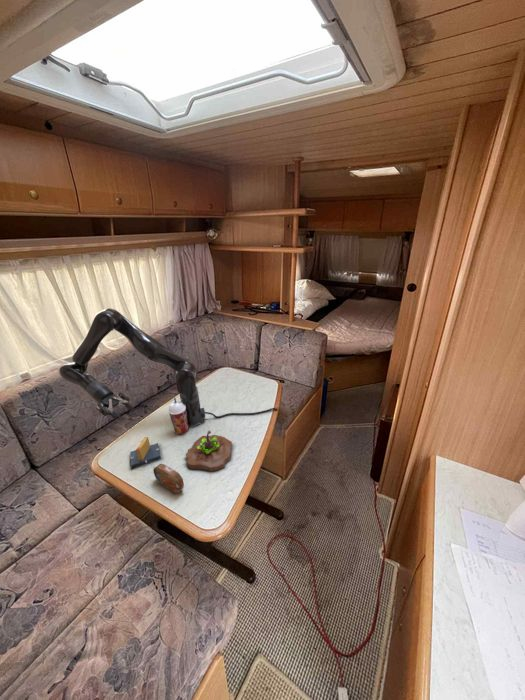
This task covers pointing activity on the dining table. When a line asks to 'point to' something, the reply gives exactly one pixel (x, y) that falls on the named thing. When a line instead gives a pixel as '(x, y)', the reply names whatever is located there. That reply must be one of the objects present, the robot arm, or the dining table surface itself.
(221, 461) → the plant
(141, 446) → the tap lever
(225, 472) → the dining table surface
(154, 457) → the tap plate
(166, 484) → the tin
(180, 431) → the smoothie
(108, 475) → the dining table surface
